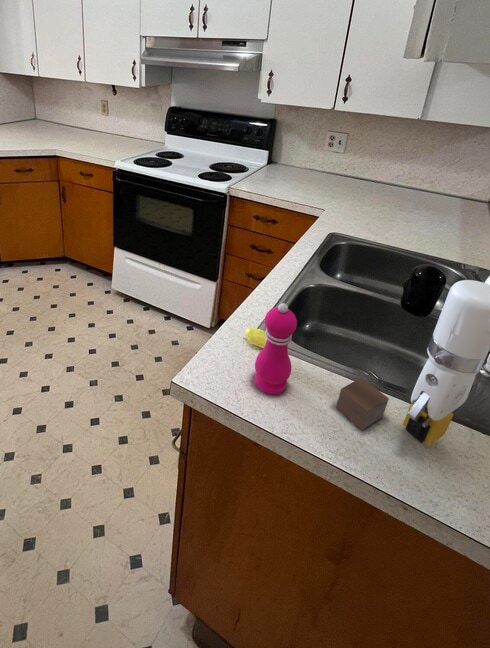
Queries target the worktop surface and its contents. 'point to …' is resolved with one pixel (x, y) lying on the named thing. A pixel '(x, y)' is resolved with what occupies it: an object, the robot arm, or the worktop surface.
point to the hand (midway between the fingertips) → (424, 428)
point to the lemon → (256, 336)
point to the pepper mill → (275, 350)
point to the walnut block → (362, 403)
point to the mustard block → (433, 426)
